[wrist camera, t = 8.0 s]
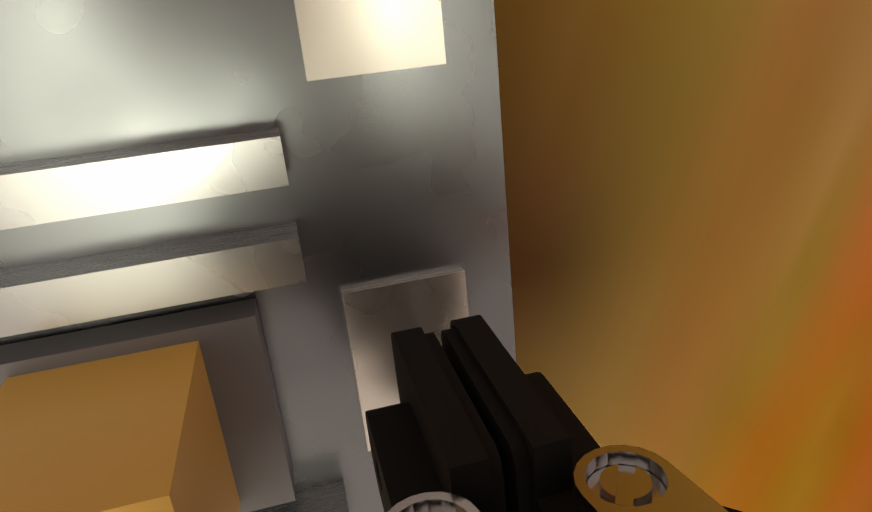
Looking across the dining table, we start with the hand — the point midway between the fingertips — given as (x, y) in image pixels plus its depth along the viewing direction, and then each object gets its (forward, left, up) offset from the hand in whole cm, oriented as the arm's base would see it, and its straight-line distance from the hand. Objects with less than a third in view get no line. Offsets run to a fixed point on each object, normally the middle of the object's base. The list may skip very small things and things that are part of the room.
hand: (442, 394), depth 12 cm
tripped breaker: (0, -6, -1) cm, 6 cm away
